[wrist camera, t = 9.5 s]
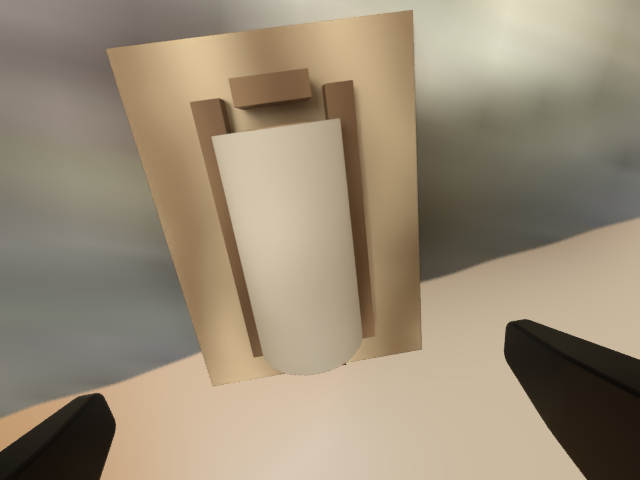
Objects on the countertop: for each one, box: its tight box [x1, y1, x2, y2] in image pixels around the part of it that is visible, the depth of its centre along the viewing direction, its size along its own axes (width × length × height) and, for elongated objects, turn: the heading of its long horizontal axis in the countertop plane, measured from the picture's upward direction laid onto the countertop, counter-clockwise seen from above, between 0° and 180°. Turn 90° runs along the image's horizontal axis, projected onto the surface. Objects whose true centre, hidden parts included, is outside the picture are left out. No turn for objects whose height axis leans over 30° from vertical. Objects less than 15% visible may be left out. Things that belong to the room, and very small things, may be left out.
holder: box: [106, 10, 422, 386], centre depth 16 cm, size 13×18×4 cm
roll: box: [211, 118, 363, 375], centre depth 14 cm, size 10×5×5 cm, turn 7°
